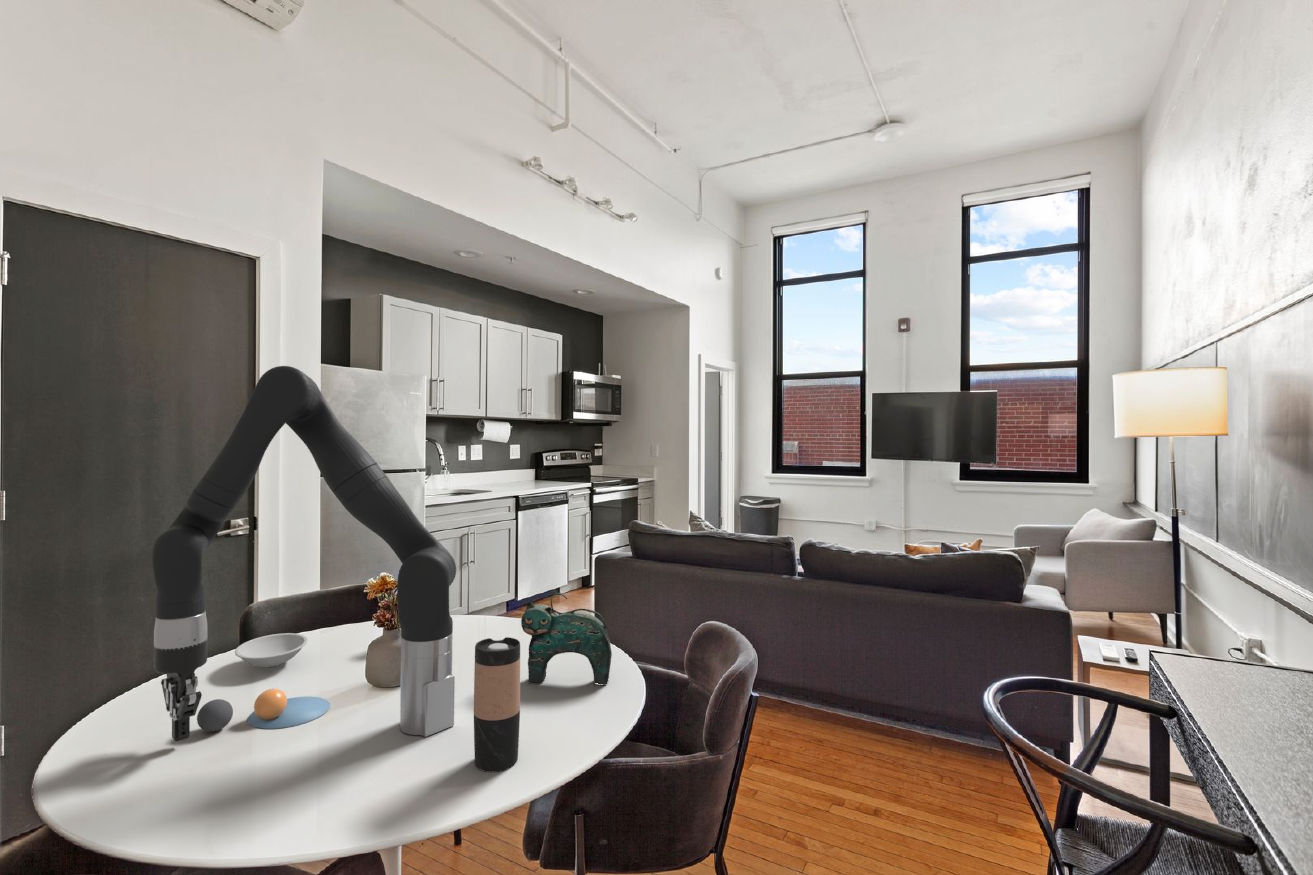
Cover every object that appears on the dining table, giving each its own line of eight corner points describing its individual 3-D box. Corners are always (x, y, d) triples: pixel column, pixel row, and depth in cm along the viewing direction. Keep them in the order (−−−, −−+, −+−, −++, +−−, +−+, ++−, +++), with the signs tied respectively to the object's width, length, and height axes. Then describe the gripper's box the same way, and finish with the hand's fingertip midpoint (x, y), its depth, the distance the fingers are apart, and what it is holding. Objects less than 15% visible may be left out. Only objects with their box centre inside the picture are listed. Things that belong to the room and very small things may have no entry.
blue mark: (343, 710, 128) (343, 709, 128) (266, 736, 117) (266, 734, 117) (310, 691, 137) (310, 690, 137) (236, 714, 126) (236, 713, 126)
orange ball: (266, 729, 121) (296, 711, 125) (257, 704, 120) (287, 686, 124) (254, 721, 125) (283, 703, 129) (244, 697, 123) (274, 680, 127)
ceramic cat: (519, 685, 142) (520, 594, 142) (526, 674, 149) (527, 587, 148) (609, 688, 141) (610, 597, 141) (612, 677, 148) (614, 589, 147)
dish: (249, 655, 158) (249, 635, 158) (314, 650, 162) (314, 631, 162) (223, 683, 141) (223, 660, 141) (296, 677, 145) (297, 655, 145)
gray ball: (204, 701, 116) (215, 729, 115) (233, 690, 122) (243, 717, 121) (185, 712, 118) (196, 741, 117) (215, 701, 123) (225, 728, 122)
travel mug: (495, 777, 104) (497, 654, 104) (463, 764, 109) (464, 645, 108) (528, 757, 111) (530, 641, 111) (496, 745, 115) (498, 633, 115)
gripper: (220, 642, 111) (219, 742, 112) (193, 627, 120) (192, 720, 120) (167, 654, 106) (166, 759, 106) (143, 637, 114) (142, 734, 114)
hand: (180, 738), depth 113 cm, fingers closed
